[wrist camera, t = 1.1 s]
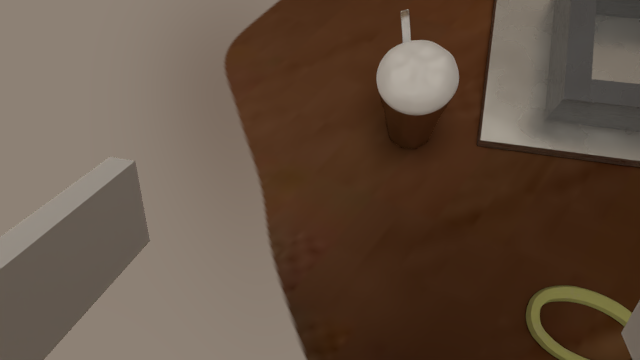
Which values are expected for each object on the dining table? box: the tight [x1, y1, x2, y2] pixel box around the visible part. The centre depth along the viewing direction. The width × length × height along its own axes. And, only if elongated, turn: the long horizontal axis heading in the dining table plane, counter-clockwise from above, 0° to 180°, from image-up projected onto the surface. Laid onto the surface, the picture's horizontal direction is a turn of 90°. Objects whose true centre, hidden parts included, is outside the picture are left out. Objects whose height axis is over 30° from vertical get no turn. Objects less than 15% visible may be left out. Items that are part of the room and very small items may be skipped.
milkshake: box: [376, 9, 459, 149], centre depth 29 cm, size 4×5×10 cm
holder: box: [477, 0, 640, 168], centre depth 30 cm, size 18×14×5 cm
